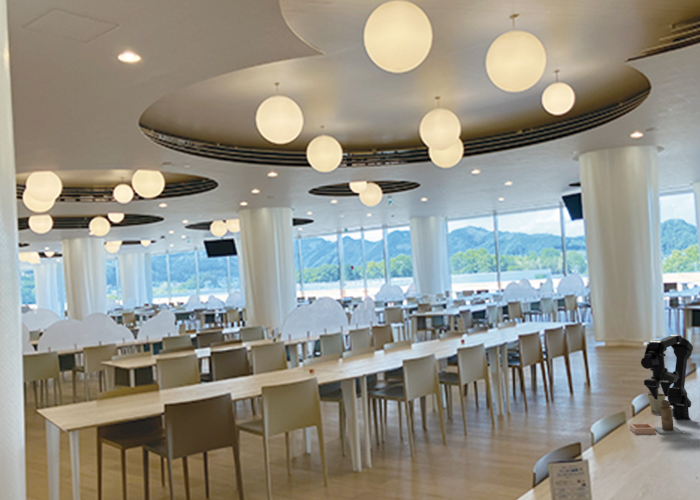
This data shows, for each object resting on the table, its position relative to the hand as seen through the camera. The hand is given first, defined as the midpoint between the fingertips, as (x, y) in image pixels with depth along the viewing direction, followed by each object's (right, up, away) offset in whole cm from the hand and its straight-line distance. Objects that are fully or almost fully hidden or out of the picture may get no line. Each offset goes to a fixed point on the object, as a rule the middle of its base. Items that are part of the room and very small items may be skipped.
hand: (661, 397), depth 294 cm
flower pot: (+13, -14, +28) cm, 33 cm away
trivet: (-4, -13, -13) cm, 18 cm away
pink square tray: (-14, -13, -10) cm, 22 cm away
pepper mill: (-4, -12, -13) cm, 18 cm away
